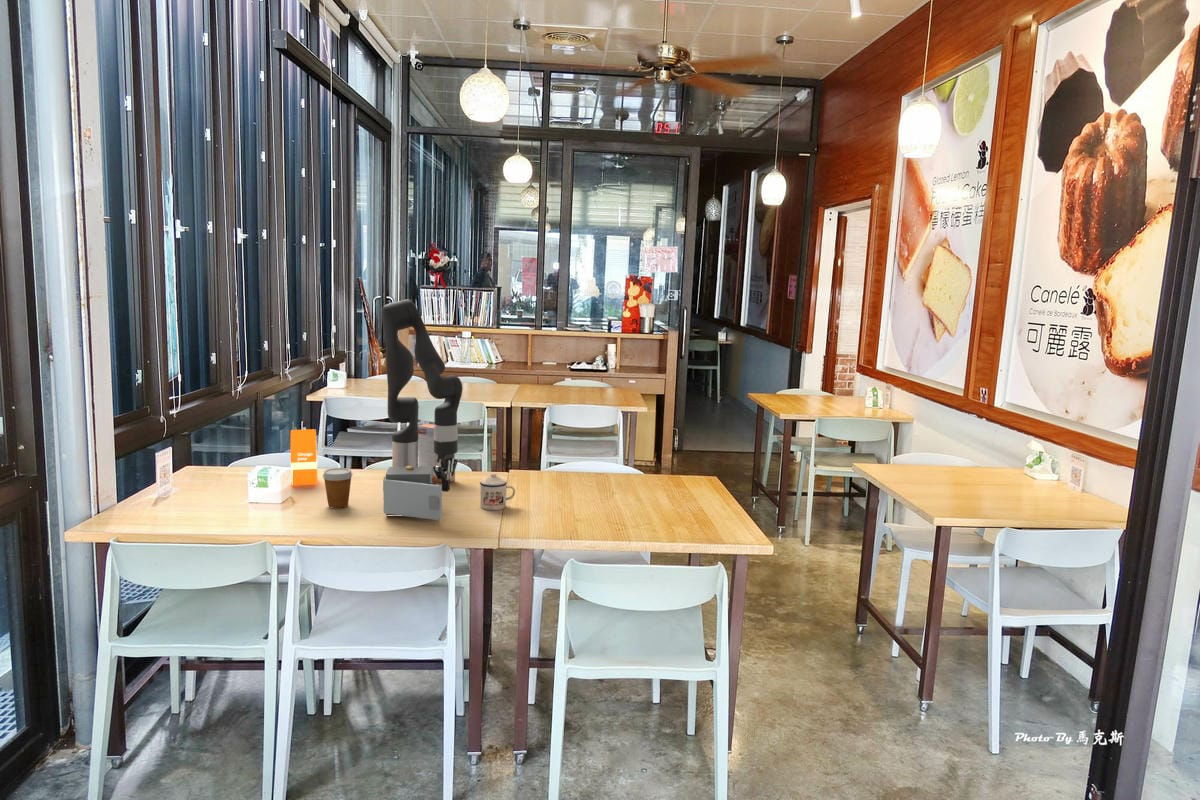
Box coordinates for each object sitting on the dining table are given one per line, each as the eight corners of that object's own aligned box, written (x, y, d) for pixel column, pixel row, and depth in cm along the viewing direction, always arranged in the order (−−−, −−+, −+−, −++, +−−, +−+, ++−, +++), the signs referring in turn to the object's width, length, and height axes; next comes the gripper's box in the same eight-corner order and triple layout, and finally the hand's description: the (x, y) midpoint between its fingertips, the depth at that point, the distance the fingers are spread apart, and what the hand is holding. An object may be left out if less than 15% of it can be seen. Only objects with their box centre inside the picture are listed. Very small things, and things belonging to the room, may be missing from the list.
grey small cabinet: (385, 507, 263) (385, 464, 261) (437, 506, 266) (437, 464, 264) (382, 516, 254) (381, 472, 251) (436, 515, 256) (436, 471, 254)
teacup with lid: (480, 511, 263) (480, 477, 261) (479, 503, 272) (479, 470, 270) (516, 510, 265) (516, 476, 263) (513, 502, 274) (514, 470, 272)
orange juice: (292, 480, 294) (291, 428, 291) (317, 479, 296) (316, 427, 293) (291, 485, 286) (289, 432, 283) (317, 484, 289) (315, 431, 286)
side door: (385, 512, 253) (385, 479, 252) (441, 519, 248) (441, 485, 246) (382, 513, 252) (381, 480, 250) (438, 521, 246) (438, 487, 245)
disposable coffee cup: (352, 509, 261) (352, 474, 259) (322, 510, 258) (321, 475, 256) (353, 501, 270) (352, 467, 268) (324, 502, 267) (323, 468, 265)
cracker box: (455, 481, 300) (456, 427, 297) (444, 484, 295) (445, 429, 292) (429, 475, 307) (428, 422, 304) (417, 478, 302) (417, 425, 299)
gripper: (444, 433, 257) (444, 484, 260) (425, 441, 245) (425, 494, 247) (465, 435, 255) (465, 487, 258) (446, 443, 243) (446, 497, 245)
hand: (445, 490), depth 253 cm, fingers closed
